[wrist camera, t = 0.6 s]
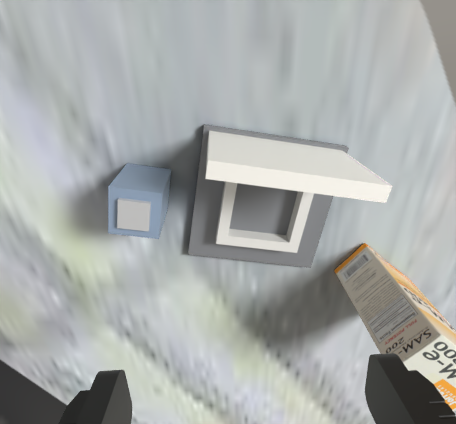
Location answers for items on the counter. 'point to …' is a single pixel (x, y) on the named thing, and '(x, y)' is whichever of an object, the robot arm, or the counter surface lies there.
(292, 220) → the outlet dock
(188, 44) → the counter surface
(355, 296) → the supplement box
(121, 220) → the block
